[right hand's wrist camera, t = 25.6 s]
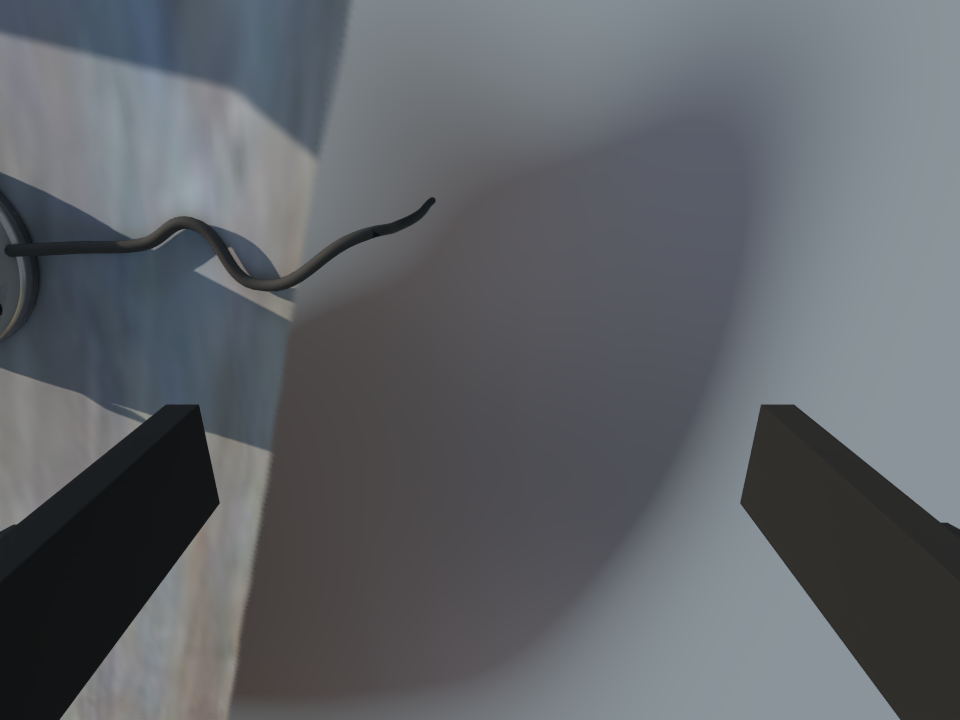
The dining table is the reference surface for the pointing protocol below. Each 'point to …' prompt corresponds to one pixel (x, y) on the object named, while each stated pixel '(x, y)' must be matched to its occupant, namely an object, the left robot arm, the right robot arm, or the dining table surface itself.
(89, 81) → the dining table surface
